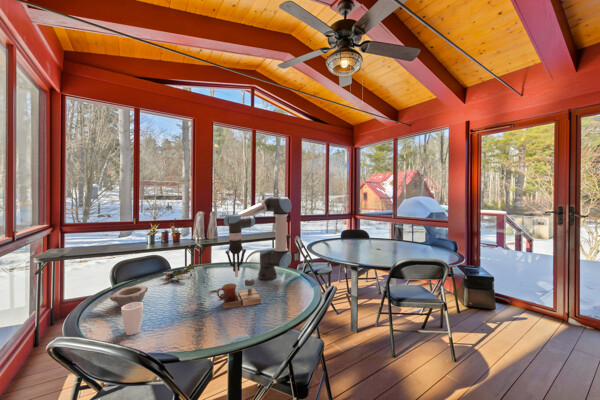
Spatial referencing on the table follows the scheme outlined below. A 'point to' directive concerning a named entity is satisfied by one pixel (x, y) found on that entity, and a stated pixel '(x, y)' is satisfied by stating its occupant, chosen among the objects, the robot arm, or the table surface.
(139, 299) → the mortar
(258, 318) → the table surface
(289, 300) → the table surface
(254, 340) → the table surface
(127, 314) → the foam cup
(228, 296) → the mug
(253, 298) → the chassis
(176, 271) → the toy airplane
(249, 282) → the wheel
